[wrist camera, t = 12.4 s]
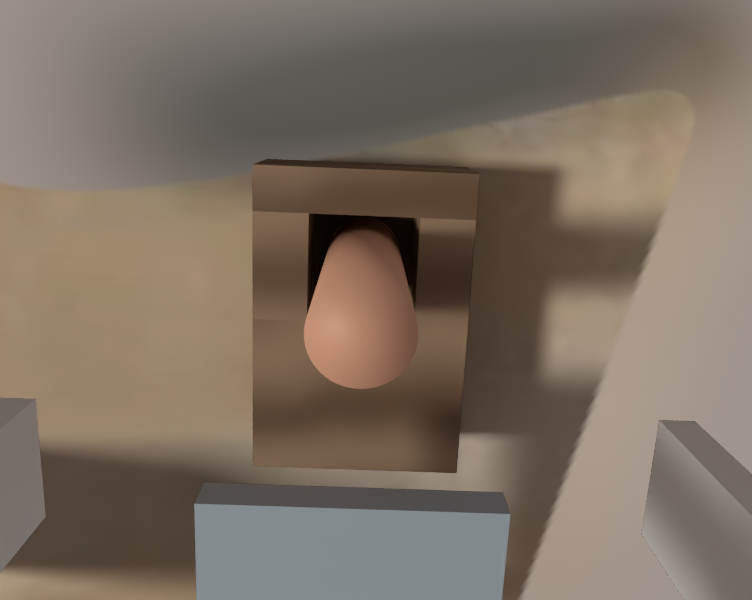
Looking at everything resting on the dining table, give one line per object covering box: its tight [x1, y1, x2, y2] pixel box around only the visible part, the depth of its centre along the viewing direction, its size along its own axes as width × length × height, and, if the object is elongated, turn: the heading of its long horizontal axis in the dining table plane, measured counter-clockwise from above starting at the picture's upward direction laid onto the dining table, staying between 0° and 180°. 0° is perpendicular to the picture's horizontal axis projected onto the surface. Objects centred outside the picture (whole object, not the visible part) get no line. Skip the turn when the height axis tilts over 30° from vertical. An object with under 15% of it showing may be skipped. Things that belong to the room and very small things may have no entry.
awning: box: [194, 482, 511, 600], centre depth 36 cm, size 16×12×16 cm
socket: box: [253, 159, 480, 473], centre depth 38 cm, size 16×11×5 cm
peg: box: [304, 217, 418, 389], centre depth 32 cm, size 4×4×16 cm
